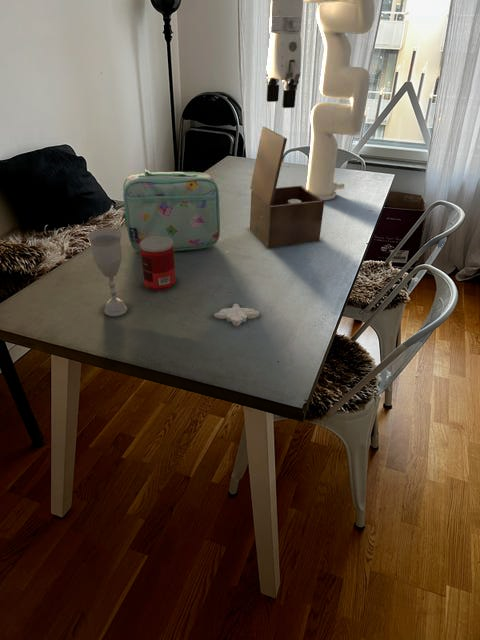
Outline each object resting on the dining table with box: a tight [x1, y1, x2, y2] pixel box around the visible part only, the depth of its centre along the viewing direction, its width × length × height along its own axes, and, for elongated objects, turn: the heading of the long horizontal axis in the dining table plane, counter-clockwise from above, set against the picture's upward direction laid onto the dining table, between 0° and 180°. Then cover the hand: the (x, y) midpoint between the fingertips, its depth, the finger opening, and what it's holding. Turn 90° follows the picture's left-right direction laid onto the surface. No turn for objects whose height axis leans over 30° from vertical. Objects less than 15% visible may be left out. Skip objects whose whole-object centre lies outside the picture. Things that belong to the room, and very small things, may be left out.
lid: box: [249, 126, 288, 205], centre depth 128 cm, size 18×15×1 cm
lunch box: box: [120, 169, 221, 253], centre depth 128 cm, size 27×10×21 cm, turn 102°
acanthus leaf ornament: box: [213, 303, 260, 327], centre depth 103 cm, size 8×7×2 cm
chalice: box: [87, 228, 128, 317], centre depth 100 cm, size 7×7×18 cm
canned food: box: [139, 236, 177, 291], centre depth 113 cm, size 8×8×11 cm
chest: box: [249, 185, 325, 249], centre depth 139 cm, size 17×15×12 cm
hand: (280, 104), depth 121 cm, fingers open, 9 cm apart
